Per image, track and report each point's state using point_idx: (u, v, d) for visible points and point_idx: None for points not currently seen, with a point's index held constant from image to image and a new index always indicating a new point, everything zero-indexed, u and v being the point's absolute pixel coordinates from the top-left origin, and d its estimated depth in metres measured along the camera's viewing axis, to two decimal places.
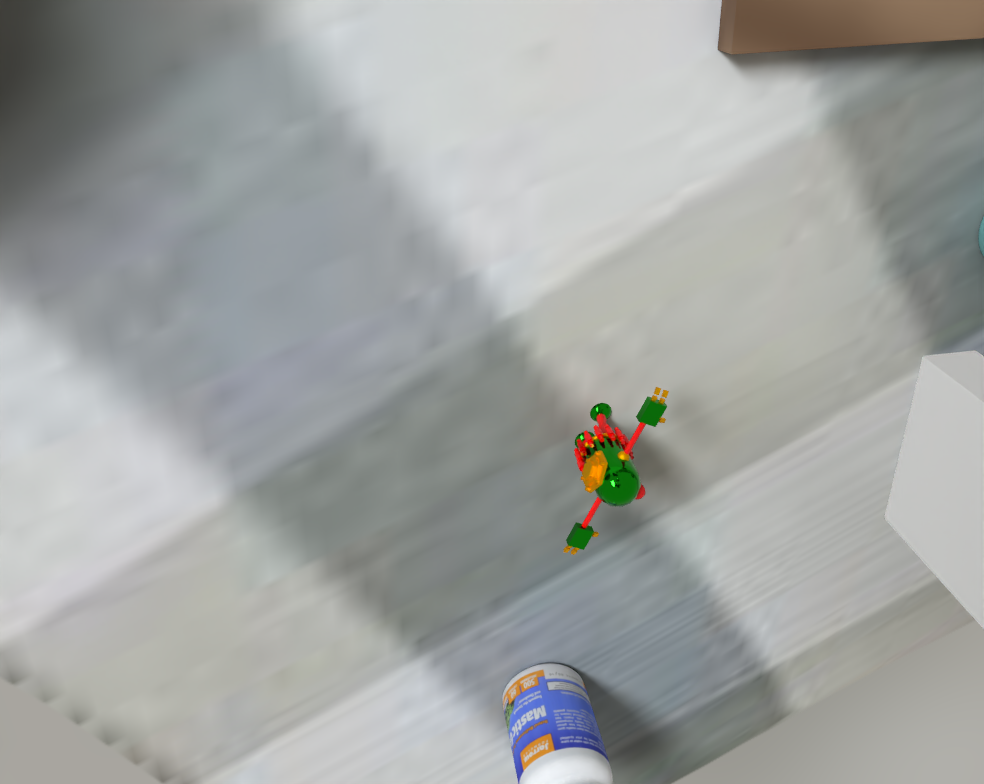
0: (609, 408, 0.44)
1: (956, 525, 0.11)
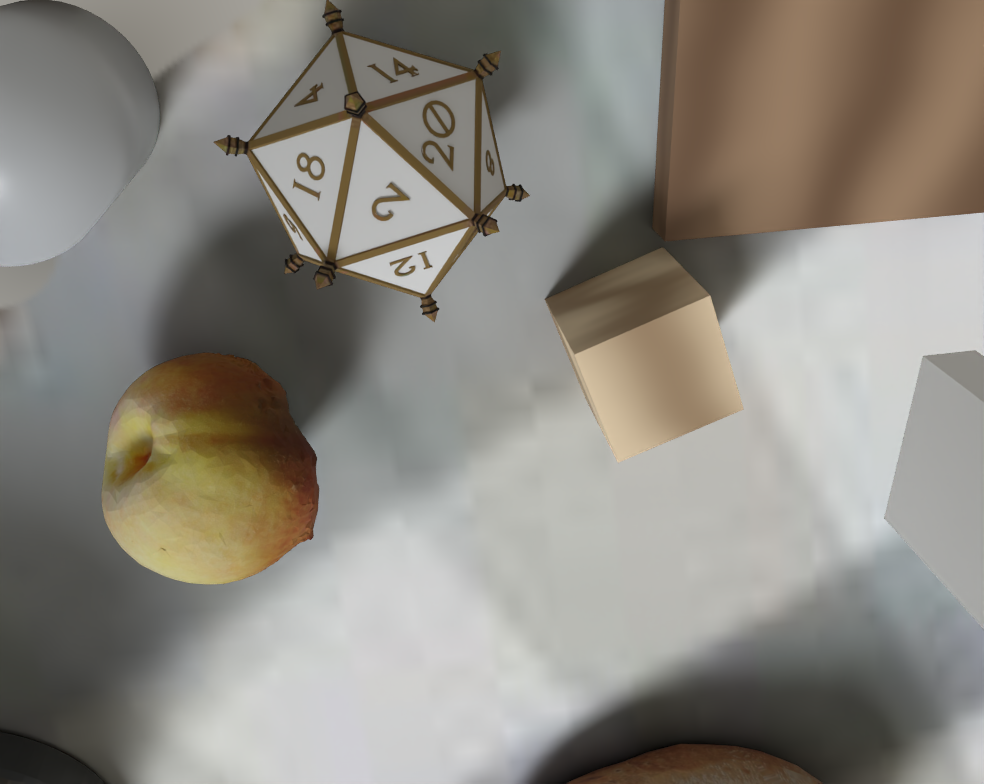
0: None
1: (956, 526, 0.11)
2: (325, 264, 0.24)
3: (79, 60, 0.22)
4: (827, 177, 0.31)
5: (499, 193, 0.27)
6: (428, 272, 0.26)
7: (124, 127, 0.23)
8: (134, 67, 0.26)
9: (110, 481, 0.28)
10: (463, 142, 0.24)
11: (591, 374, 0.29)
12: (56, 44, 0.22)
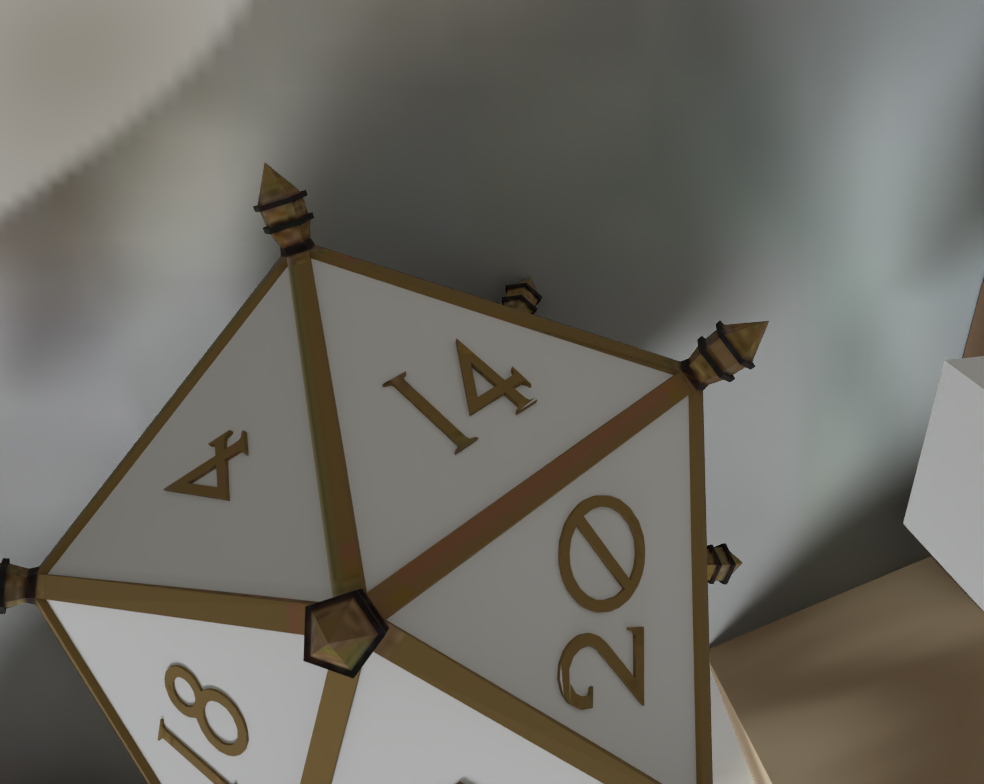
0: None
1: (980, 532, 0.11)
2: None
3: None
4: None
5: None
6: None
7: None
8: None
9: None
10: (665, 598, 0.08)
11: None
12: None
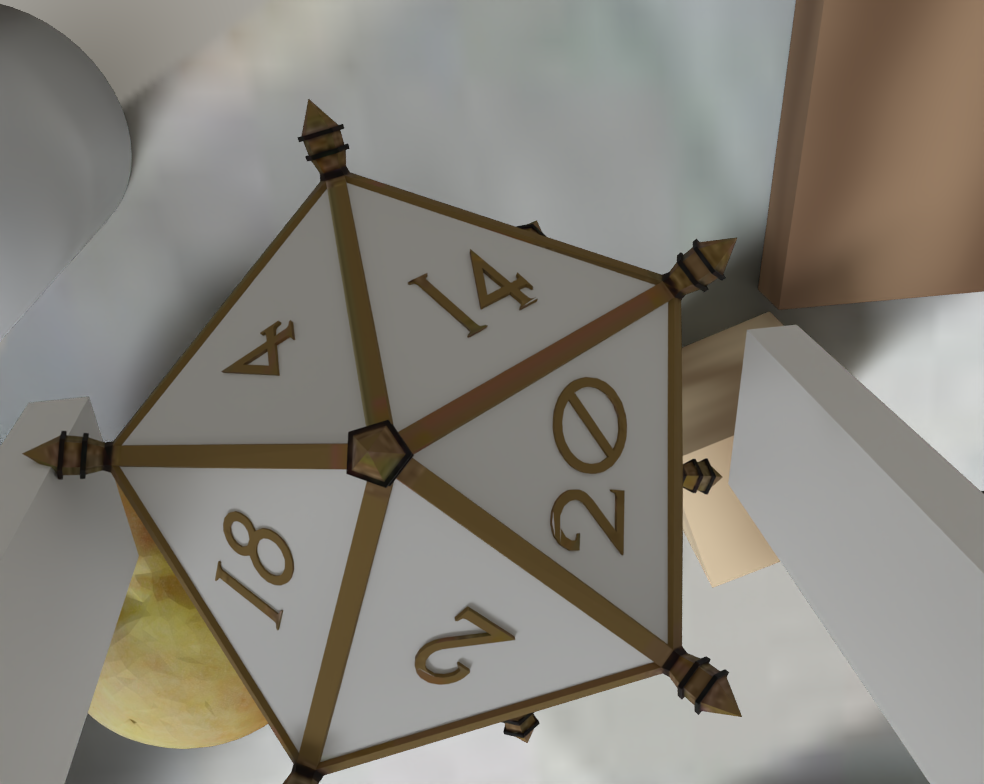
0: None
1: (773, 486, 0.12)
2: (293, 772, 0.09)
3: None
4: None
5: None
6: None
7: (58, 185, 0.17)
8: (88, 91, 0.19)
9: None
10: (644, 470, 0.09)
11: None
12: None
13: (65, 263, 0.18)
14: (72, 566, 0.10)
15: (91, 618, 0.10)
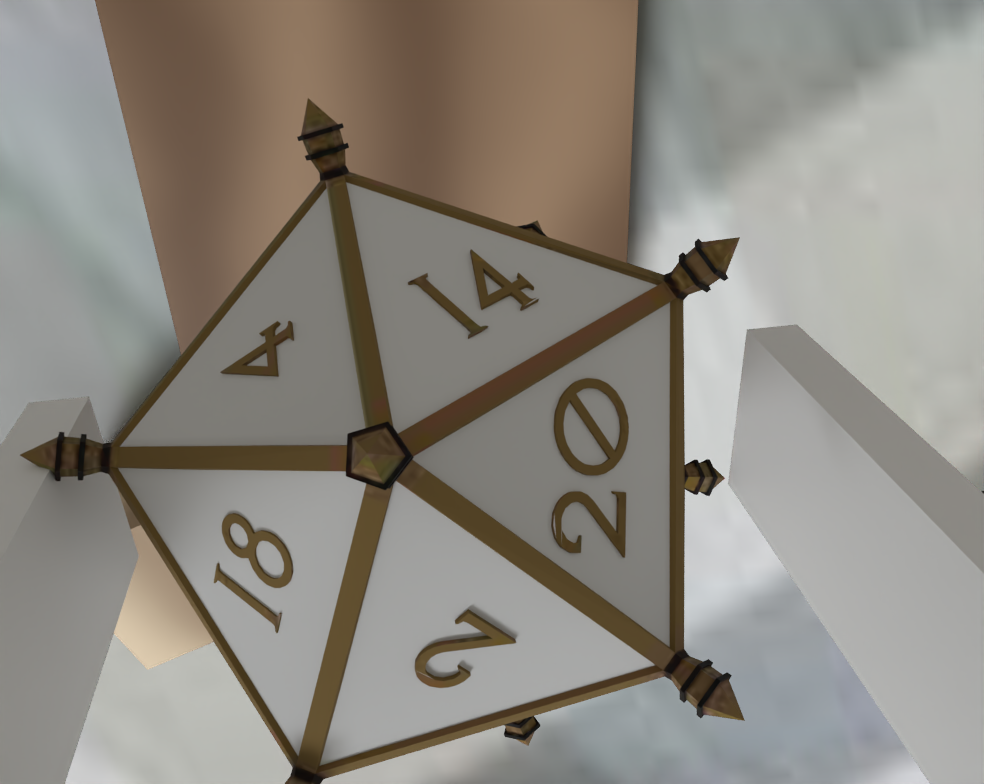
0: None
1: (773, 486, 0.12)
2: (292, 776, 0.09)
3: None
4: None
5: None
6: None
7: None
8: None
9: None
10: (646, 472, 0.09)
11: None
12: None
13: None
14: (72, 565, 0.10)
15: (91, 618, 0.10)
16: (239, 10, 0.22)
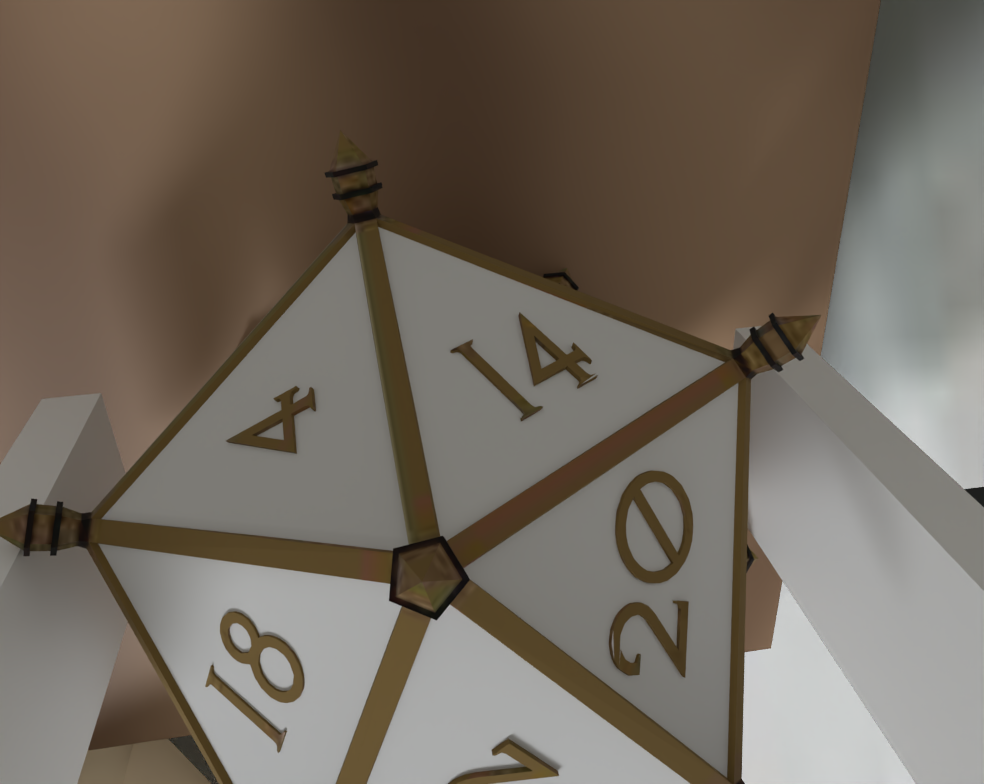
0: None
1: (761, 485, 0.12)
2: None
3: None
4: None
5: None
6: None
7: None
8: None
9: None
10: (708, 576, 0.08)
11: None
12: None
13: None
14: (86, 559, 0.10)
15: (104, 613, 0.10)
16: (121, 115, 0.11)
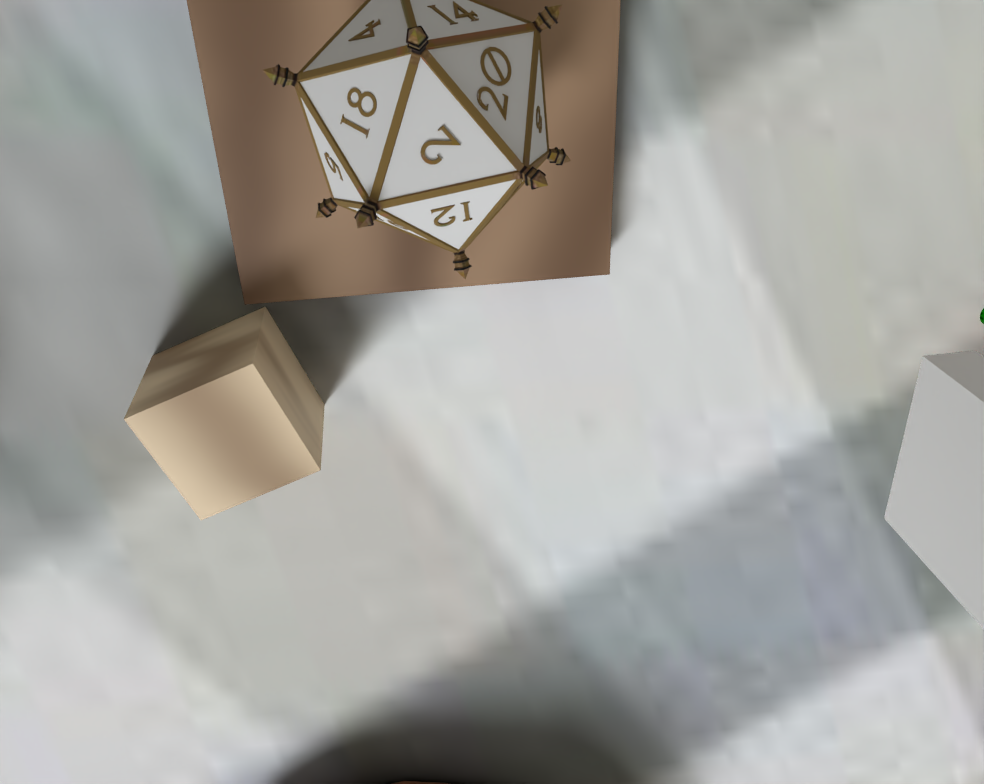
0: None
1: (957, 526, 0.11)
2: (367, 204, 0.23)
3: None
4: (401, 244, 0.31)
5: (543, 153, 0.26)
6: (466, 225, 0.25)
7: None
8: None
9: None
10: (517, 93, 0.23)
11: (147, 437, 0.30)
12: None
13: None
14: None
15: None
16: None
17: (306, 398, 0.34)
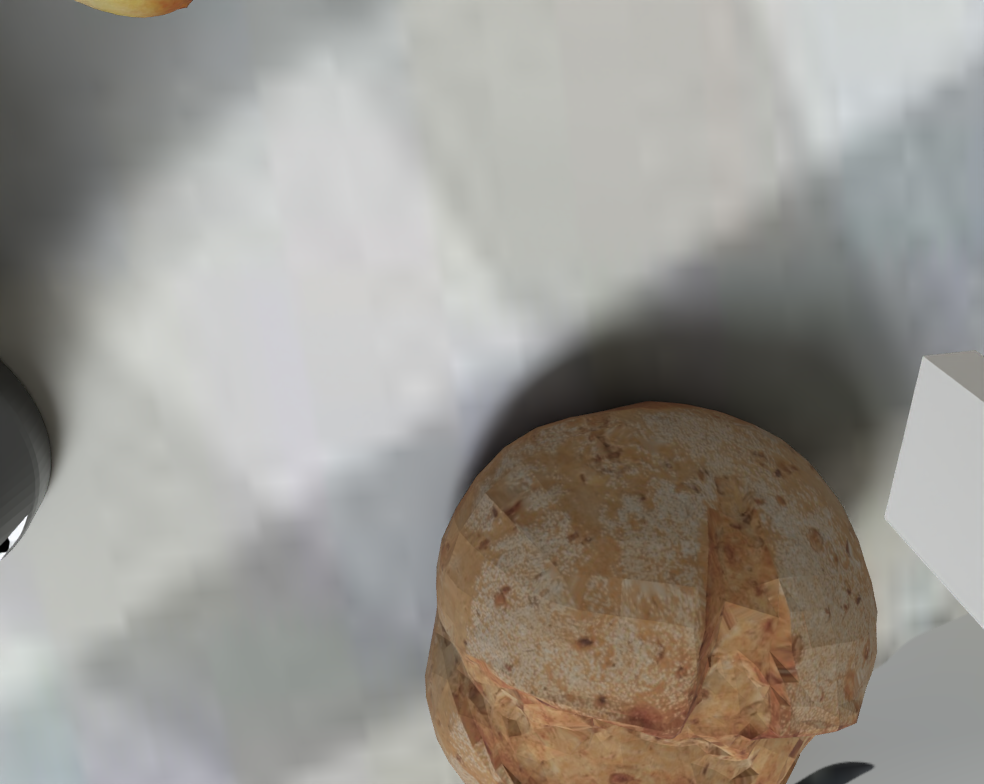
0: None
1: (956, 525, 0.11)
2: None
3: None
4: None
5: None
6: None
7: None
8: None
9: None
10: None
11: None
12: None
13: None
14: None
15: None
16: None
17: None
